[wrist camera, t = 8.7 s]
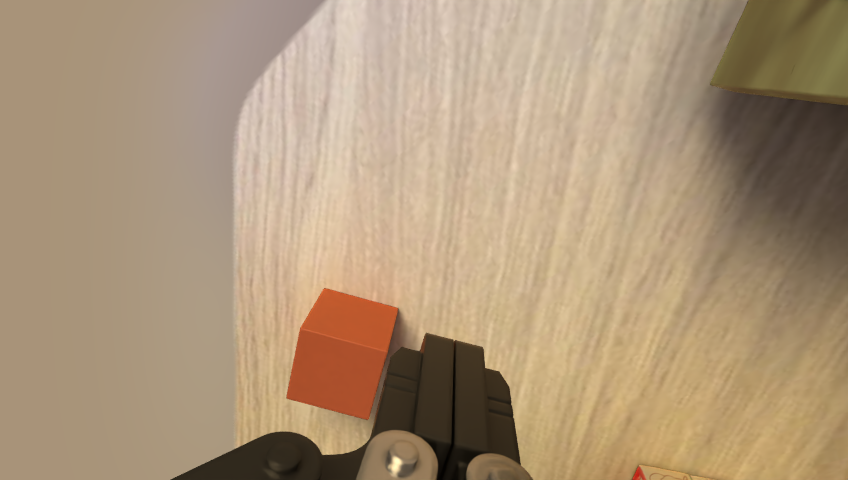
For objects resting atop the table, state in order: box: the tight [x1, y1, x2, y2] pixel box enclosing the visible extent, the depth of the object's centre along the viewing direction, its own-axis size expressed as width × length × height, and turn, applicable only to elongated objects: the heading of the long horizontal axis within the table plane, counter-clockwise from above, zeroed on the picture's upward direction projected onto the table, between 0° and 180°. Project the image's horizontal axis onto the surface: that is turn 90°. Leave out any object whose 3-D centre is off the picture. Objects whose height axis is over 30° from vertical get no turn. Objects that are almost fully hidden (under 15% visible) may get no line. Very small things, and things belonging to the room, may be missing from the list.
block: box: [287, 288, 398, 420], centre depth 25 cm, size 4×4×4 cm
